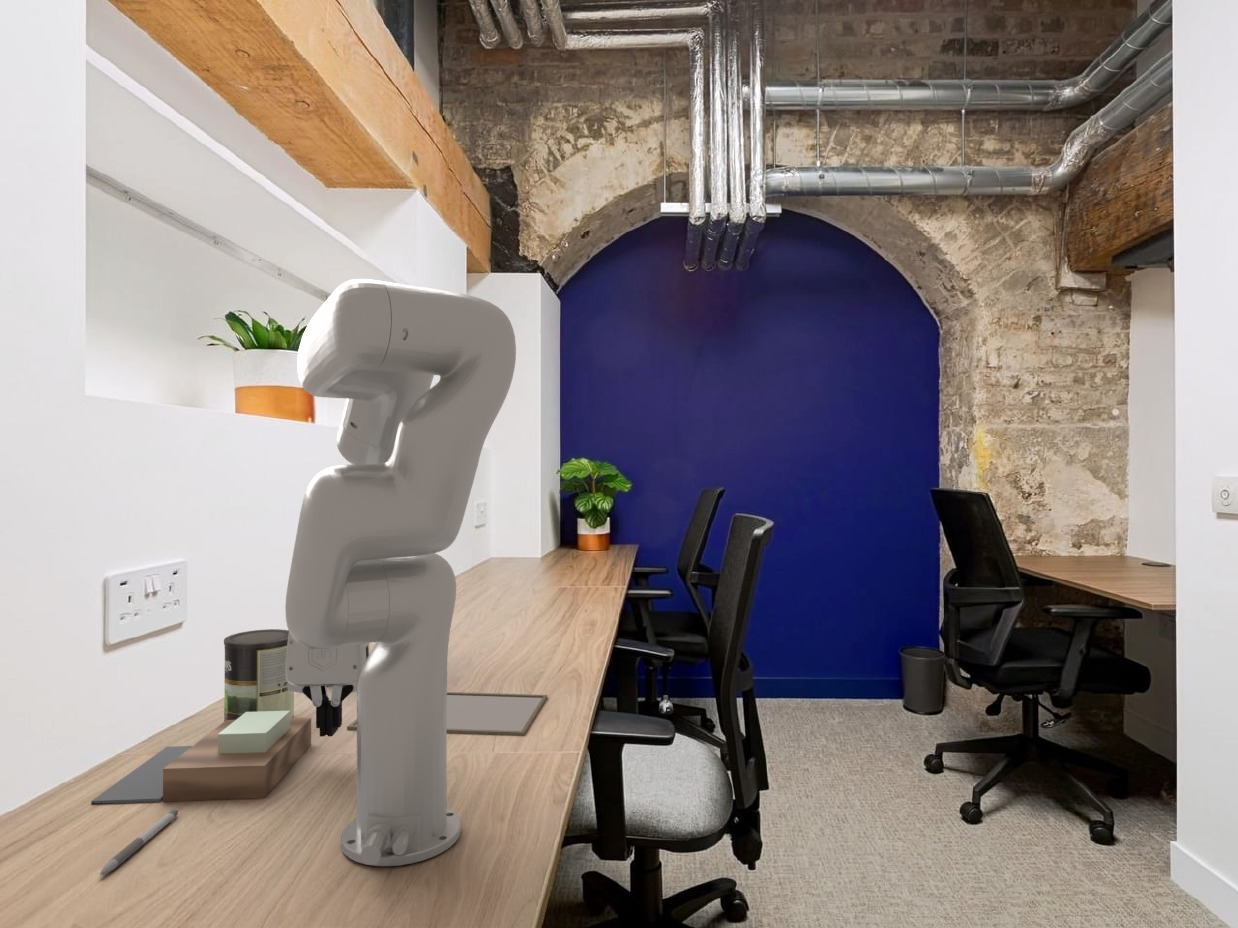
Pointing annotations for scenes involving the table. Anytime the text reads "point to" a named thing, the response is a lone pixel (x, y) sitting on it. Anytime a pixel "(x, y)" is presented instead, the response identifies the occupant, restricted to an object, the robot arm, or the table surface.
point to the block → (254, 732)
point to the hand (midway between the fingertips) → (329, 732)
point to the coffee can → (256, 673)
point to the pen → (139, 842)
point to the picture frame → (489, 713)
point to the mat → (142, 780)
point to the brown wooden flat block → (233, 767)
